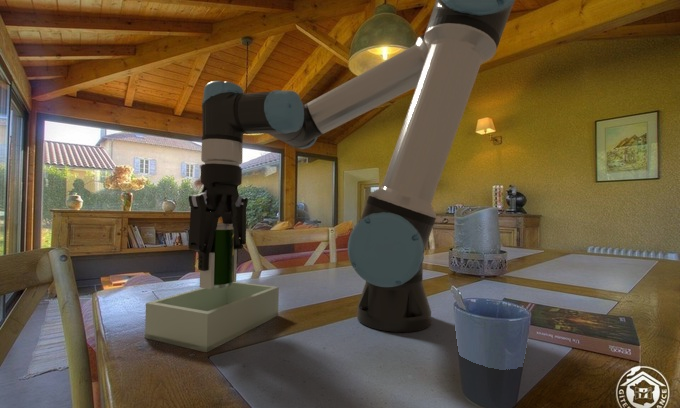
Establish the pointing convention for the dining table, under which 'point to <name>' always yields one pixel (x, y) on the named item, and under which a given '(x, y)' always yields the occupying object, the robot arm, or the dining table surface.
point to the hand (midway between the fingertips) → (218, 284)
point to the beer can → (223, 255)
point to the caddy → (210, 315)
